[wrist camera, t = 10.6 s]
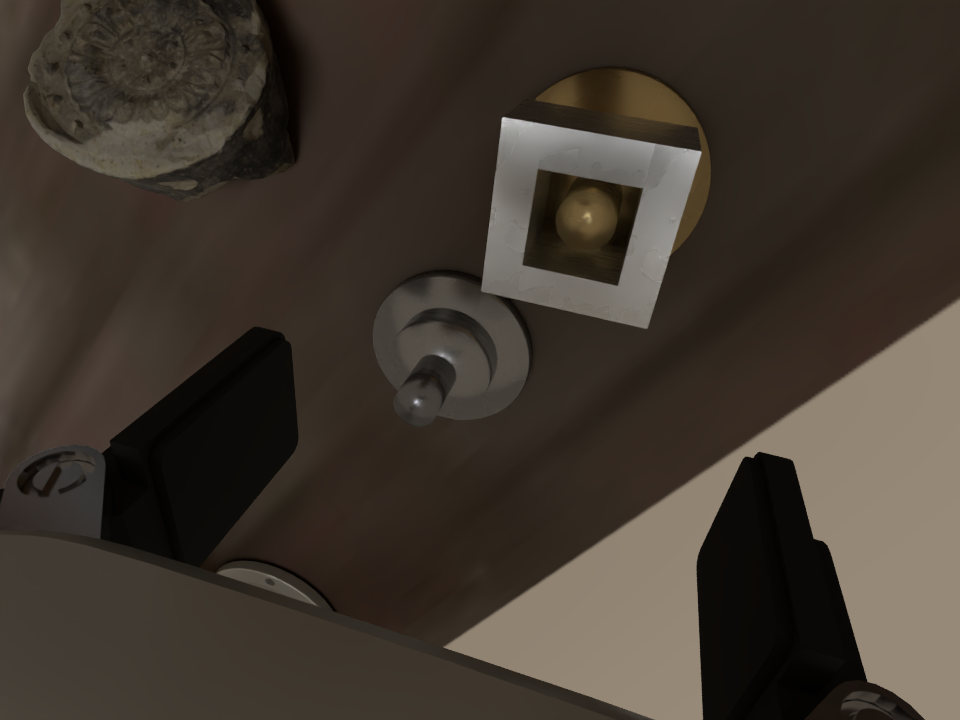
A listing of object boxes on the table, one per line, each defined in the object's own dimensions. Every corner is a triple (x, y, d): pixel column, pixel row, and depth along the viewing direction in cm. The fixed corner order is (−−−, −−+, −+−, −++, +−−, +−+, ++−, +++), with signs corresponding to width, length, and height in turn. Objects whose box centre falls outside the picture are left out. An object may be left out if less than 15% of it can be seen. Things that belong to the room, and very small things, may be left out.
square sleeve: (650, 285, 26) (647, 329, 22) (504, 254, 27) (481, 291, 23) (697, 127, 22) (701, 151, 19) (526, 99, 23) (502, 117, 20)
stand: (412, 417, 37) (371, 484, 32) (355, 287, 33) (298, 340, 28) (550, 401, 34) (528, 474, 29) (504, 254, 30) (470, 308, 25)
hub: (534, 286, 30) (506, 346, 25) (480, 104, 26) (434, 131, 21) (722, 250, 27) (734, 310, 22) (692, 34, 23) (697, 47, 18)
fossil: (262, -89, 24) (164, 56, 19) (356, 105, 32) (304, 246, 27) (61, -33, 28) (-67, 104, 22) (191, 132, 35) (116, 263, 30)
